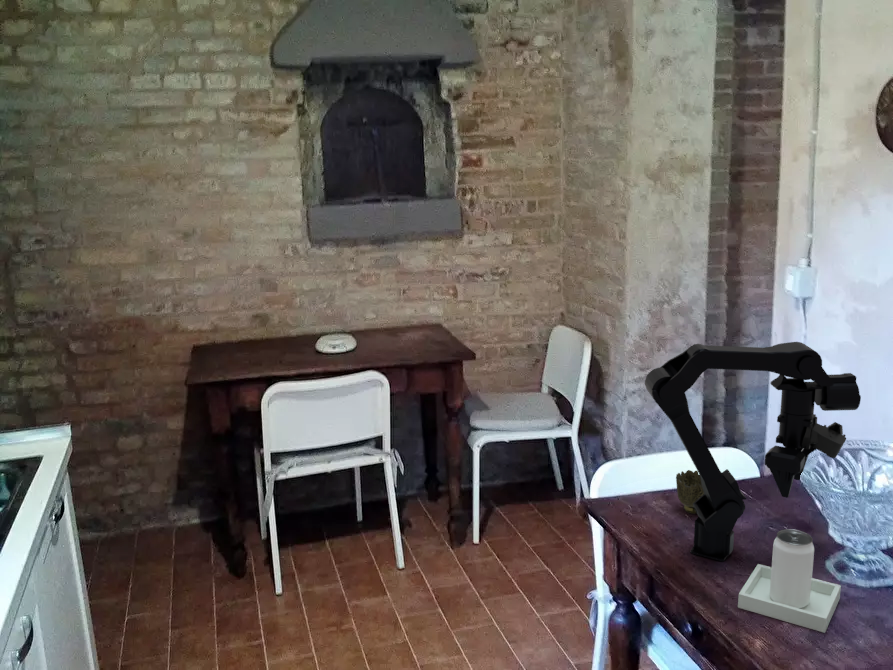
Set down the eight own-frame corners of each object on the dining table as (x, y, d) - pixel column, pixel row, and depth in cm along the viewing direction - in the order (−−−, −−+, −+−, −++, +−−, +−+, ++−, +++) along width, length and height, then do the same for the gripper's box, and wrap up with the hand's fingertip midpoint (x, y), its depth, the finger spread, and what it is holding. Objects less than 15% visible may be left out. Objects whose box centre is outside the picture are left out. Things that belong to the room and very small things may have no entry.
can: (807, 592, 148) (813, 530, 145) (811, 612, 142) (817, 548, 139) (768, 587, 150) (773, 525, 147) (770, 607, 144) (775, 543, 141)
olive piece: (668, 512, 181) (669, 478, 179) (683, 500, 186) (685, 467, 184) (701, 522, 176) (703, 486, 174) (716, 509, 181) (718, 475, 179)
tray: (737, 607, 145) (738, 593, 144) (757, 576, 154) (758, 563, 154) (824, 632, 137) (826, 618, 136) (839, 598, 147) (840, 585, 146)
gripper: (833, 433, 145) (826, 517, 149) (853, 403, 160) (846, 479, 163) (766, 422, 151) (761, 502, 155) (791, 394, 166) (786, 468, 170)
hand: (791, 488), depth 160 cm, fingers open, 9 cm apart
